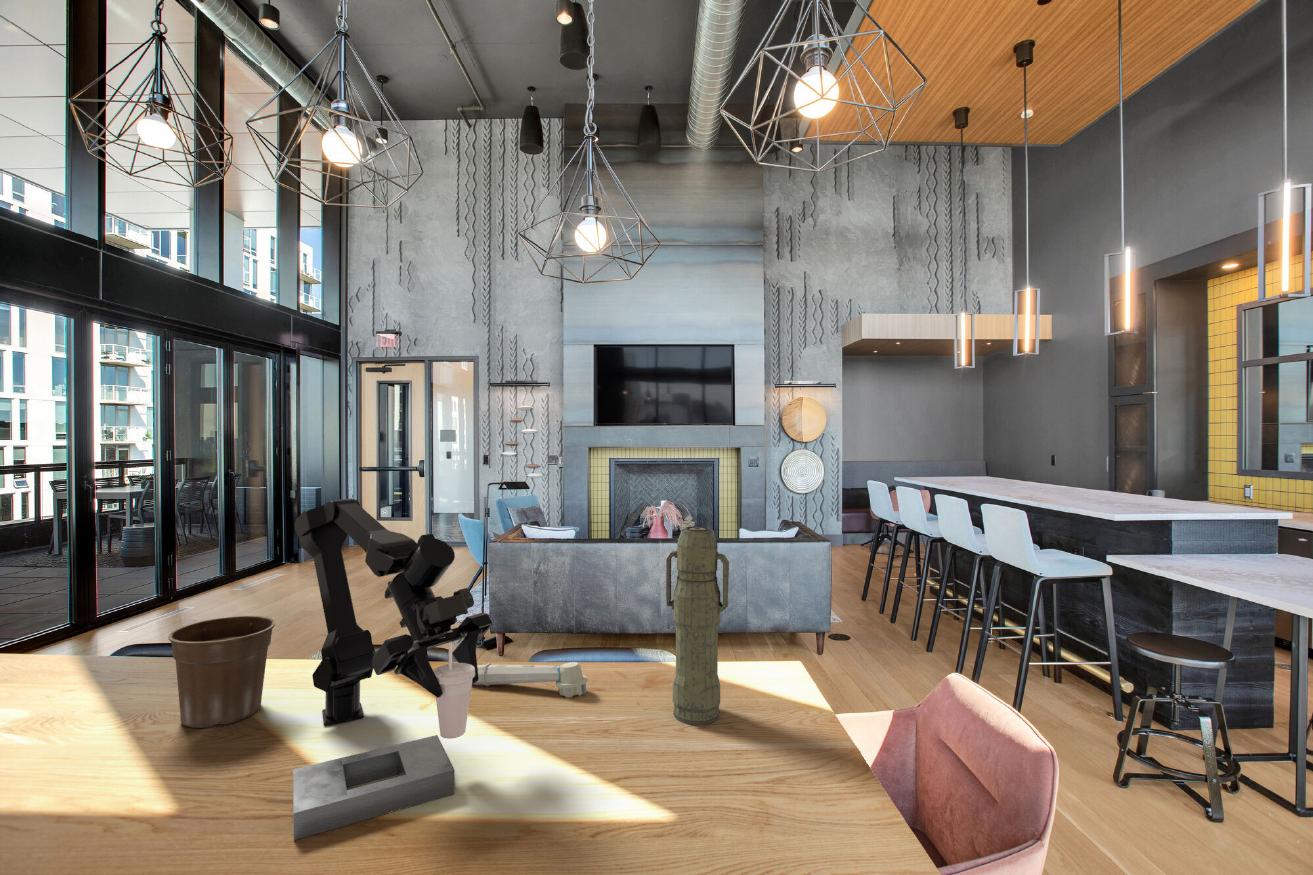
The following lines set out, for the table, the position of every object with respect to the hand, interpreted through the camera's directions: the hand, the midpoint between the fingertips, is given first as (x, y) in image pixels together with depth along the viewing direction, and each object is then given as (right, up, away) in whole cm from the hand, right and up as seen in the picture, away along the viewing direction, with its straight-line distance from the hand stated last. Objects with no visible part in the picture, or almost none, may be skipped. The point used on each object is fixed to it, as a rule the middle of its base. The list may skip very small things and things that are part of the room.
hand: (458, 688), depth 93 cm
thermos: (+38, -14, +21) cm, 45 cm away
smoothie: (-1, -7, +1) cm, 7 cm away
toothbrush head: (+4, -14, +32) cm, 35 cm away
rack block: (-11, -13, -5) cm, 18 cm away
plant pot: (-50, -13, +20) cm, 56 cm away
